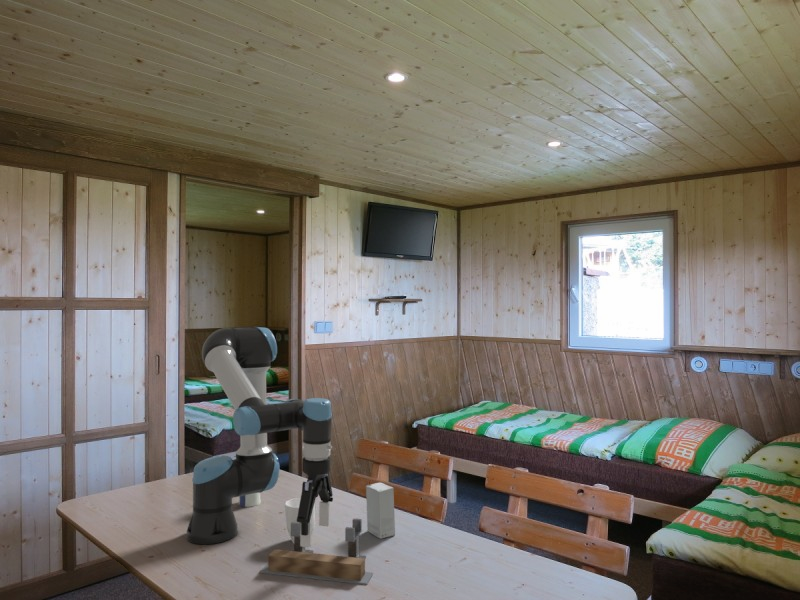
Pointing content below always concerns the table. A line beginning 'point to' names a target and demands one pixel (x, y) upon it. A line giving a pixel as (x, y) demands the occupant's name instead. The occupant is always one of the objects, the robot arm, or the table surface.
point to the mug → (296, 514)
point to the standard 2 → (354, 538)
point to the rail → (316, 564)
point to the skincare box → (380, 510)
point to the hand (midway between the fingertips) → (315, 535)
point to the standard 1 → (297, 538)
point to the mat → (364, 580)
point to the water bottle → (249, 500)
